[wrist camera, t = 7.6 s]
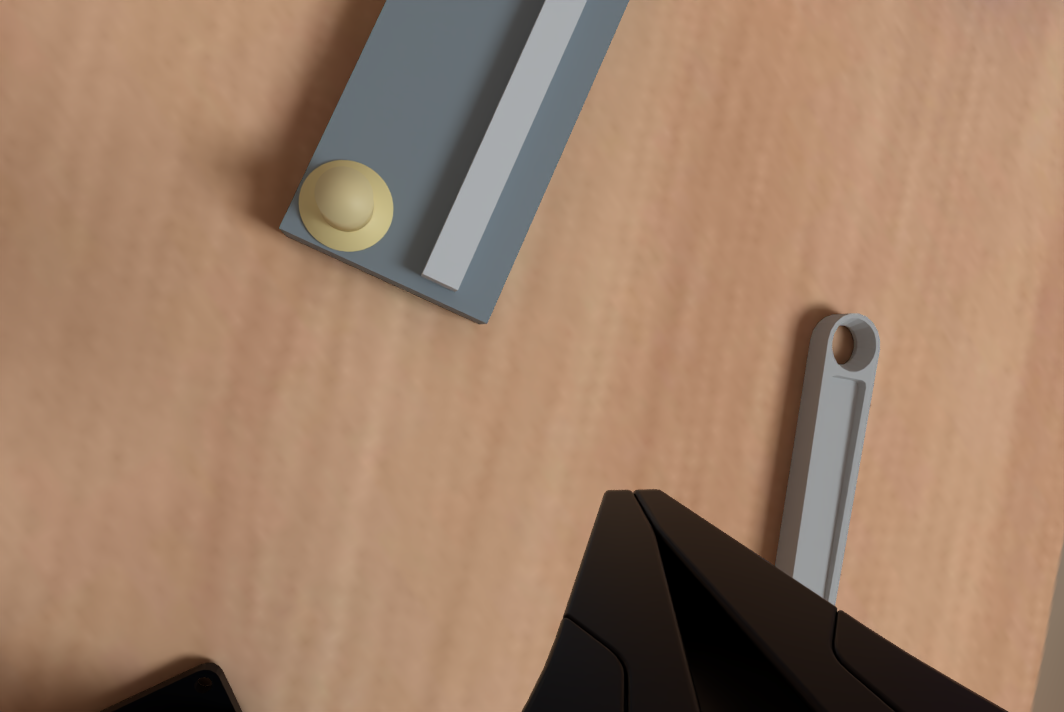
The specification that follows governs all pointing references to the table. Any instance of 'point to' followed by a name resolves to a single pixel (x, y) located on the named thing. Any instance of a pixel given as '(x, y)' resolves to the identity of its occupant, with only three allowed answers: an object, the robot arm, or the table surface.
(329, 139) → the plate
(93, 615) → the table surface
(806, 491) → the adjustable wrench
